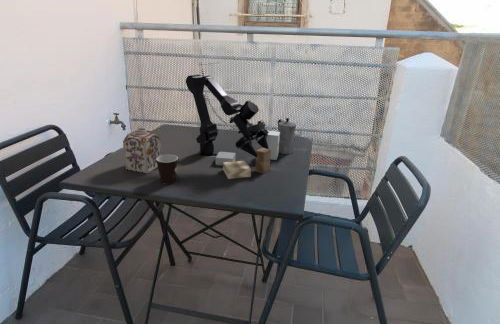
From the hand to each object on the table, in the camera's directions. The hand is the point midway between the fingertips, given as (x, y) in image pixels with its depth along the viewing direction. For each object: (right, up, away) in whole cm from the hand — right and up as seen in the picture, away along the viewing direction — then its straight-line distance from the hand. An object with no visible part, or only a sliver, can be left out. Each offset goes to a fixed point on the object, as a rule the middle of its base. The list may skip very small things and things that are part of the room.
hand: (262, 153), depth 149 cm
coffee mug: (-39, -11, -9) cm, 41 cm away
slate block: (-17, -4, +11) cm, 21 cm away
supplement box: (+5, -1, +20) cm, 20 cm away
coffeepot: (+12, +2, +29) cm, 32 cm away
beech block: (-12, -9, 0) cm, 15 cm away
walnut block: (0, -8, +3) cm, 8 cm away
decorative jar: (-54, -6, +2) cm, 54 cm away
